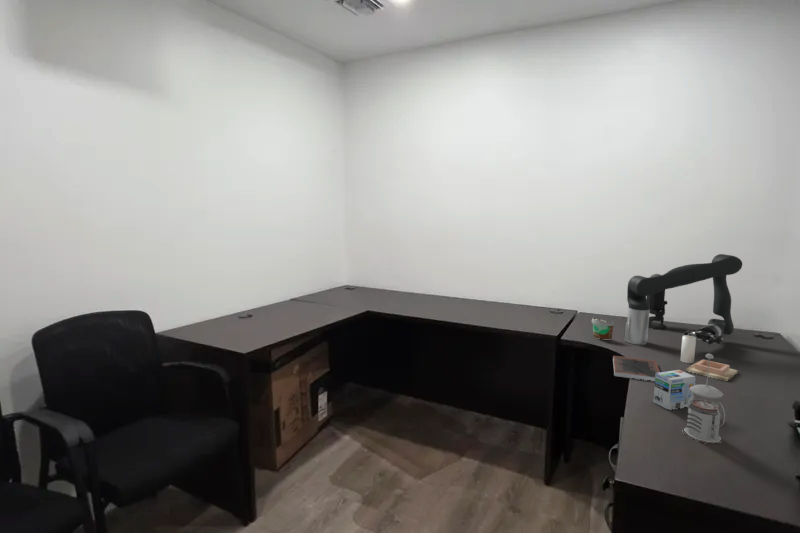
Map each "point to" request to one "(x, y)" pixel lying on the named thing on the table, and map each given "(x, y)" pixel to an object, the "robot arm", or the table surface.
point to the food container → (602, 328)
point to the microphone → (657, 308)
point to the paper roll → (688, 349)
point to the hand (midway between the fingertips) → (698, 339)
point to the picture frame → (635, 368)
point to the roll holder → (712, 370)
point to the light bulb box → (673, 389)
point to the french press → (704, 427)
